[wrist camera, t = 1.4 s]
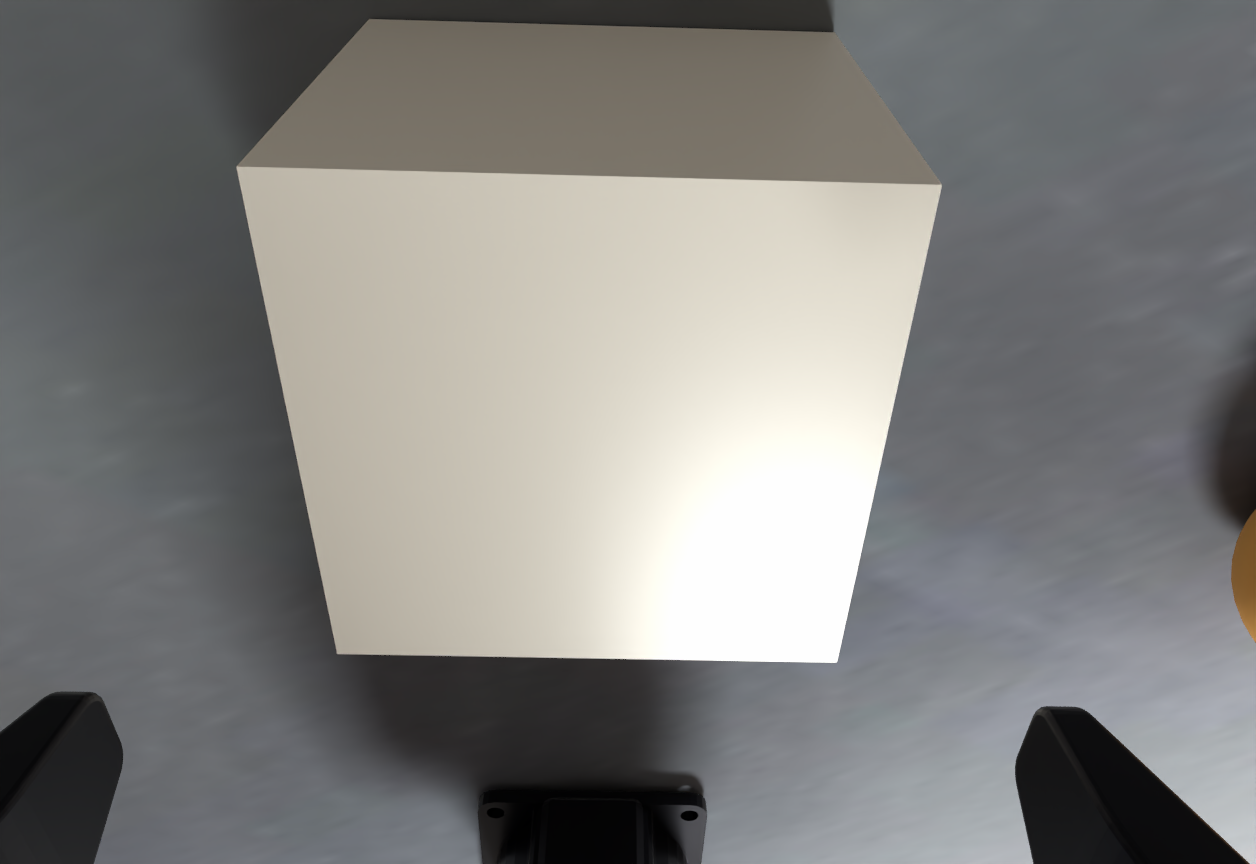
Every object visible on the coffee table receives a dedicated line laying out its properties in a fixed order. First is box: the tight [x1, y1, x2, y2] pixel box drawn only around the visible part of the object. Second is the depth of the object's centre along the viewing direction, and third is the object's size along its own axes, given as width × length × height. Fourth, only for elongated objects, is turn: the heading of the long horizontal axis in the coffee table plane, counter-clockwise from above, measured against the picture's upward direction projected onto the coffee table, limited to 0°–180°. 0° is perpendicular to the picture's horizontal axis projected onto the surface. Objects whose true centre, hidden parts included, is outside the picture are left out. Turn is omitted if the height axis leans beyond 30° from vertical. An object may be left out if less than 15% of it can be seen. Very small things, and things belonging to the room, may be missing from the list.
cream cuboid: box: [236, 19, 942, 663], centre depth 16 cm, size 8×8×7 cm
